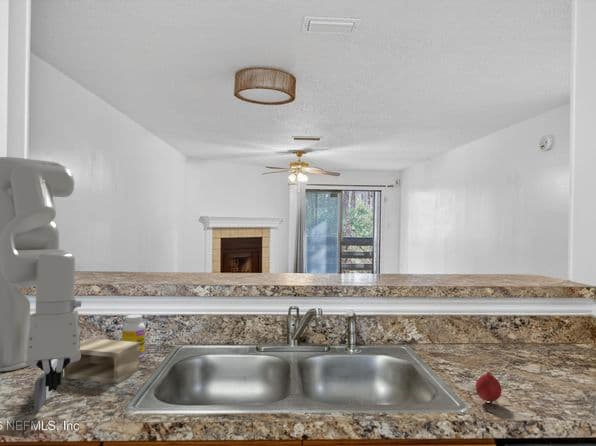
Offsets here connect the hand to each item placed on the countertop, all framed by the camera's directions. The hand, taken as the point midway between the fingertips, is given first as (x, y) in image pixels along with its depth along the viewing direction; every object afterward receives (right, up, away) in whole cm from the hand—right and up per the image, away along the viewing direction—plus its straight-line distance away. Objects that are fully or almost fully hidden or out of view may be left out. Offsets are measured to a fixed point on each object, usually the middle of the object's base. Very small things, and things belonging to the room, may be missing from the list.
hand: (53, 388), depth 93 cm
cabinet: (+1, -5, +22) cm, 22 cm away
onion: (+102, -8, +9) cm, 103 cm away
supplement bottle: (+3, -5, +37) cm, 37 cm away
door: (-5, -4, +7) cm, 10 cm away
